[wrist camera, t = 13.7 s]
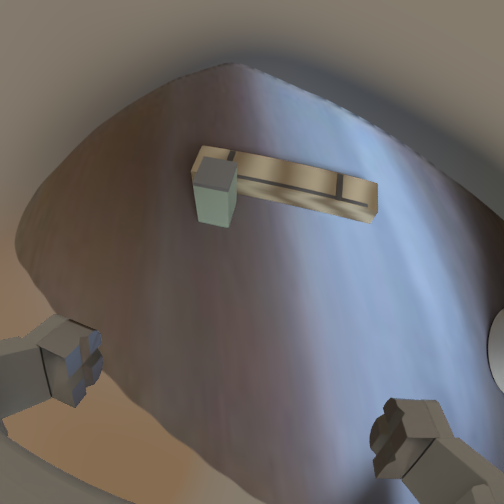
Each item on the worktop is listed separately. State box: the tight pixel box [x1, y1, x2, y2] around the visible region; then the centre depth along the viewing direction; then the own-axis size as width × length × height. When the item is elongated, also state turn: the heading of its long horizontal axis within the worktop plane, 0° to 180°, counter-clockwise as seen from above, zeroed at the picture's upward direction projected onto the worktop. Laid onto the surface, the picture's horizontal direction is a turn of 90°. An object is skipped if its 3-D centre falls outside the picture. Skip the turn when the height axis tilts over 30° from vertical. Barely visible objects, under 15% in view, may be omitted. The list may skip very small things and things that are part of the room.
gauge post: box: [193, 156, 237, 228], centre depth 39 cm, size 4×4×8 cm
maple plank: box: [191, 145, 378, 224], centre depth 43 cm, size 25×5×3 cm, turn 78°
